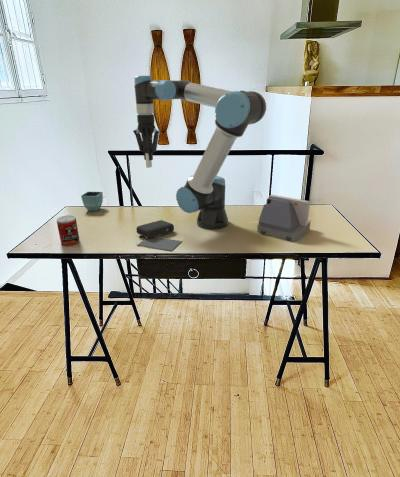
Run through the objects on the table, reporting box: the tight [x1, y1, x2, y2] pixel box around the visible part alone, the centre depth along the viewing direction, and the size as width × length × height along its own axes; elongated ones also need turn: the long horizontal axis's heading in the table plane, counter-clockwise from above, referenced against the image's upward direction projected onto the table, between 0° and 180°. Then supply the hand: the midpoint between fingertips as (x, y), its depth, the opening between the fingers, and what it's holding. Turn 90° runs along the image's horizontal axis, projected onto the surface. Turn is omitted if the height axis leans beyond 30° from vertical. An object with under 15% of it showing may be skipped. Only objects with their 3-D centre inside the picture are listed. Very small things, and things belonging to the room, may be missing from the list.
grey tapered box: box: [256, 194, 312, 242], centre depth 155 cm, size 21×21×15 cm
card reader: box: [135, 219, 175, 238], centre depth 156 cm, size 9×4×15 cm
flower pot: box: [80, 191, 104, 212], centre depth 187 cm, size 9×9×9 cm
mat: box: [136, 236, 183, 252], centre depth 146 cm, size 16×10×1 cm, turn 68°
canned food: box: [56, 215, 80, 247], centre depth 147 cm, size 8×8×11 cm
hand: (149, 167), depth 163 cm, fingers closed
